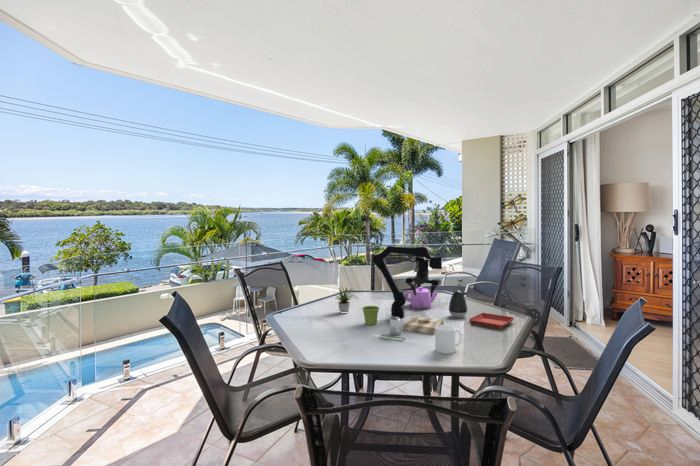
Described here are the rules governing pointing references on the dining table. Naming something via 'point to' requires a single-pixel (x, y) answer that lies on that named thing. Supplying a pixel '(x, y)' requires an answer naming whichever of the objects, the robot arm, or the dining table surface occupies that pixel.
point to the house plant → (344, 300)
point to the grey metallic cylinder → (395, 326)
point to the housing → (422, 324)
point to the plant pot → (370, 314)
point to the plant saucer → (491, 320)
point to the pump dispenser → (458, 304)
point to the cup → (446, 339)
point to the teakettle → (421, 298)
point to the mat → (392, 338)
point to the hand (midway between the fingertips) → (423, 296)
